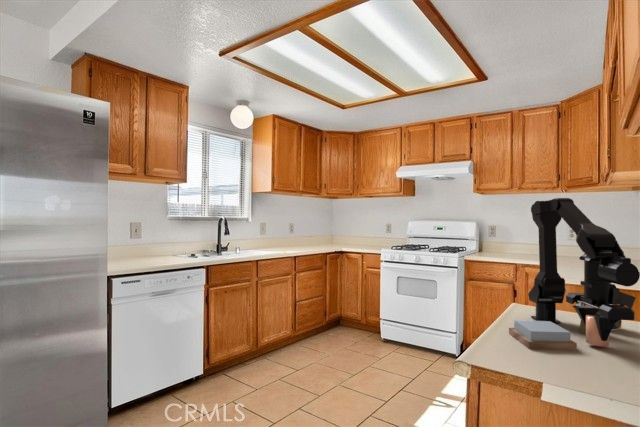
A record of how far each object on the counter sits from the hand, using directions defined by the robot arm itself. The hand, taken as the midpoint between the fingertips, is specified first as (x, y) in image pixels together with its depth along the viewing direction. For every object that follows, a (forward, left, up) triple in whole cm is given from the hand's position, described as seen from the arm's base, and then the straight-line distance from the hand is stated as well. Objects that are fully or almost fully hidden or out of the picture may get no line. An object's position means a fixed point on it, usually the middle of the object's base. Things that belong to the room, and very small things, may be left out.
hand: (597, 337), depth 99 cm
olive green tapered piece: (-12, +6, -3) cm, 14 cm away
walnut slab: (-3, -13, -3) cm, 14 cm away
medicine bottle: (-18, +13, -3) cm, 22 cm away
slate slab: (-3, -13, -1) cm, 13 cm away
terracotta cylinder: (0, 0, -2) cm, 2 cm away
